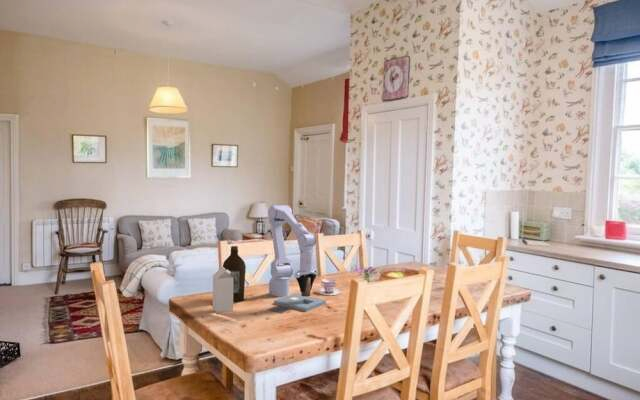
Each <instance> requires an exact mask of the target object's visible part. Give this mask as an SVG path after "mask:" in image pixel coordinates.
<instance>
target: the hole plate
mask: <svg viewBox="0 0 640 400" xmlns="http://www.w3.org/2000/svg"><path fill="white" fill-rule="evenodd" d="M273 304H274V305H276V306H278V305H279V306H283V307H287V308H291V309H292V310H293V309H294V310H297V311H300V312H301V311H302V312H306V313H307V312H309V311H311V310H314V309H317V308H319V307H321V306H324V305H327V299H322V298H317V297H313V296H307V297H305V296H301V294H300V293H293V294H292V293H291V294H290V295H288V296H285V297H280V298H277V299H274V300H273Z"/></svg>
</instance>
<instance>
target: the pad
mask: <svg viewBox="0 0 640 400" xmlns="http://www.w3.org/2000/svg"><path fill="white" fill-rule="evenodd" d="M290 310H292V308H289V307H285V306H281V305H276V306H273V307H270V308H267V309H266V311H268V312H273V313H278V314H282V313H283V314H284V313H285V312H288V311H290Z"/></svg>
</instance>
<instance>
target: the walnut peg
mask: <svg viewBox="0 0 640 400" xmlns="http://www.w3.org/2000/svg"><path fill="white" fill-rule="evenodd" d="M307 278H308V280H307V283H306V290H305V292H301V291H300V293H301V294H300V295H301V296H305V297H307V296H309V297H311V290H310V286H311V277H307Z"/></svg>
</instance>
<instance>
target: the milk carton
mask: <svg viewBox="0 0 640 400" xmlns="http://www.w3.org/2000/svg"><path fill="white" fill-rule="evenodd" d="M230 273H231V272H230V271H229V270H226V269H225V268H224V267H223V265H220V268H219V269H218V270H217V271H216V272H215V273H214V274H212V312H213V311H214V314H216V315H220V313H222V312H224V313H225V312H231V311H234V302H233V277H232V276H231V275H229V274H230Z"/></svg>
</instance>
